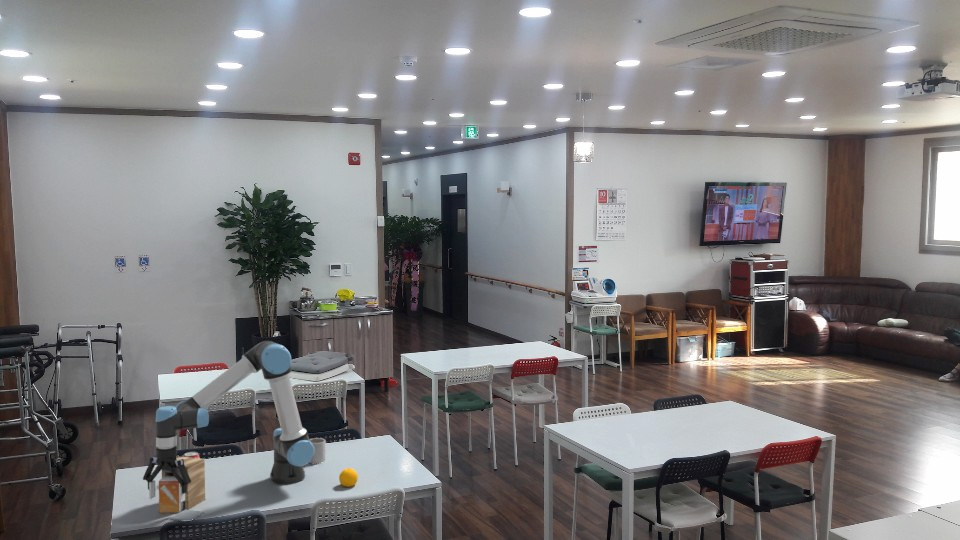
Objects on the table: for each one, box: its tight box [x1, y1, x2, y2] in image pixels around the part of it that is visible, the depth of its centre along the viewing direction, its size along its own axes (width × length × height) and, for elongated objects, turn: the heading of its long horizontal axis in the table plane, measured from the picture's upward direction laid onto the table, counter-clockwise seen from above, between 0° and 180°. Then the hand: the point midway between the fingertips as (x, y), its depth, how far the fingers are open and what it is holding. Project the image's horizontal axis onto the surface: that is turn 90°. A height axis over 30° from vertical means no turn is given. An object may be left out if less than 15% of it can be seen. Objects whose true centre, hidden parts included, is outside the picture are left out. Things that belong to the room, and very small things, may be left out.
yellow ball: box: [338, 467, 359, 488], centre depth 325 cm, size 8×8×8 cm
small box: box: [158, 476, 185, 514], centre depth 296 cm, size 8×6×13 cm
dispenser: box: [161, 456, 206, 510], centre depth 303 cm, size 12×11×17 cm
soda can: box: [183, 451, 201, 459], centre depth 331 cm, size 7×7×12 cm
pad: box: [169, 508, 206, 521], centre depth 290 cm, size 9×9×1 cm
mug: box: [308, 437, 327, 464], centre depth 359 cm, size 12×9×10 cm
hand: (167, 499), depth 294 cm, fingers open, 13 cm apart
